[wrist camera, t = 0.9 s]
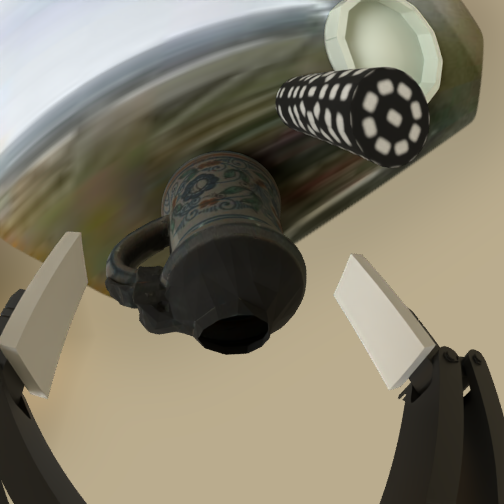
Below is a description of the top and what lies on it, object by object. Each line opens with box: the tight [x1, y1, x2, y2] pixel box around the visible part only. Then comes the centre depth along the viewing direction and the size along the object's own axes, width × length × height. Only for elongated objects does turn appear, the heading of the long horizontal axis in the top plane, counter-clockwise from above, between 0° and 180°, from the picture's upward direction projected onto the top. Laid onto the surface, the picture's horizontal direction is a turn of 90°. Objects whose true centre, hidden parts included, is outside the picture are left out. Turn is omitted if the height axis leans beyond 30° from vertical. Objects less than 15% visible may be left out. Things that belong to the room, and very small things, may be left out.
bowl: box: [324, 0, 443, 104], centre depth 28 cm, size 20×20×4 cm
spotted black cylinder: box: [276, 67, 430, 168], centre depth 25 cm, size 8×8×20 cm
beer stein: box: [105, 151, 306, 355], centre depth 29 cm, size 16×19×25 cm
